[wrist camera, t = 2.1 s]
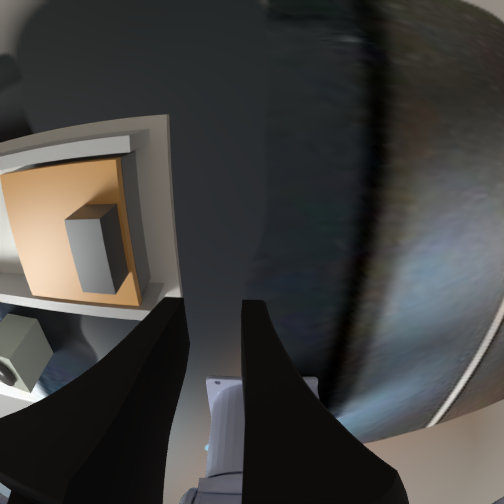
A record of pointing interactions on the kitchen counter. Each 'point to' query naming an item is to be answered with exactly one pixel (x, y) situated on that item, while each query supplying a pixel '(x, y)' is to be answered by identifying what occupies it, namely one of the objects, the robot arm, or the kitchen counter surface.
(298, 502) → the robot arm
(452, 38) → the kitchen counter surface
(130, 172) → the socket panel
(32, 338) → the plug
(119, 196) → the shutter
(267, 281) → the kitchen counter surface
